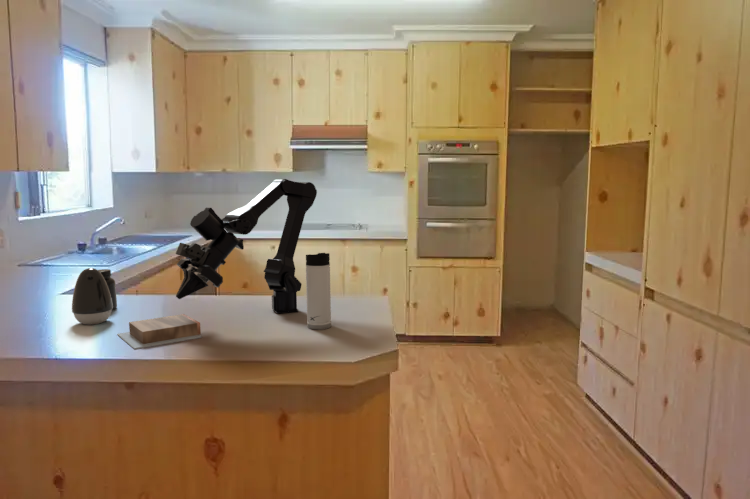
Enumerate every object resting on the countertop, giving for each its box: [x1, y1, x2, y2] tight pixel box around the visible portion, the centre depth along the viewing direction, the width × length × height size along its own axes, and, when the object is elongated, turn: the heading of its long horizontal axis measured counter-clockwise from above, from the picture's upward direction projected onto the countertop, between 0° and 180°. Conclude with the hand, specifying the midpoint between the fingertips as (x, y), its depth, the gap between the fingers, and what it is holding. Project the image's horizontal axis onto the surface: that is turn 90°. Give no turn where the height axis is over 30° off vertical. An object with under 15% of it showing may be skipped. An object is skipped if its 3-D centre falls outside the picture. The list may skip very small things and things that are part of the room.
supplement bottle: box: [97, 268, 118, 311], centre depth 178 cm, size 7×7×12 cm
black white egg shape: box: [71, 267, 113, 326], centre depth 161 cm, size 10×10×15 cm
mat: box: [116, 331, 203, 350], centre depth 147 cm, size 16×16×1 cm
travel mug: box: [305, 252, 332, 331], centre depth 154 cm, size 6×7×20 cm
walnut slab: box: [128, 313, 202, 344], centre depth 148 cm, size 3×12×14 cm
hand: (177, 297), depth 149 cm, fingers closed
